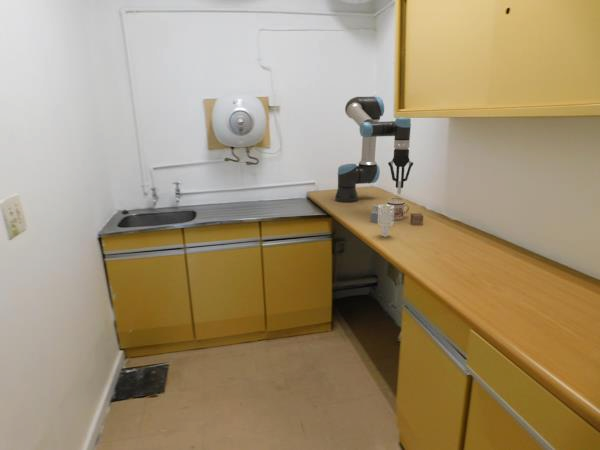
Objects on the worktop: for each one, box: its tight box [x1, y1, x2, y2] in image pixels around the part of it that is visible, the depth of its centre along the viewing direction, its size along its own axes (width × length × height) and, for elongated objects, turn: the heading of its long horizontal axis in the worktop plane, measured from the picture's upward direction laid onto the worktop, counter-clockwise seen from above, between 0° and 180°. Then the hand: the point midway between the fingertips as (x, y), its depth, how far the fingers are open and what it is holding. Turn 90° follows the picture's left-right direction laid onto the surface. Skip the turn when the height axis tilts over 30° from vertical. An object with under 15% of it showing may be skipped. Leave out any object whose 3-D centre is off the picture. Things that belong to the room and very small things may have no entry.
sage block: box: [372, 204, 386, 212], centre depth 209 cm, size 5×5×5 cm
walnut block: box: [409, 212, 424, 226], centre depth 189 cm, size 5×5×5 cm
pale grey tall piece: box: [377, 204, 395, 238], centre depth 169 cm, size 7×7×15 cm
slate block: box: [369, 210, 378, 224], centre depth 195 cm, size 5×5×5 cm
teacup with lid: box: [386, 196, 410, 221], centre depth 200 cm, size 12×9×12 cm
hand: (399, 193), depth 197 cm, fingers closed
